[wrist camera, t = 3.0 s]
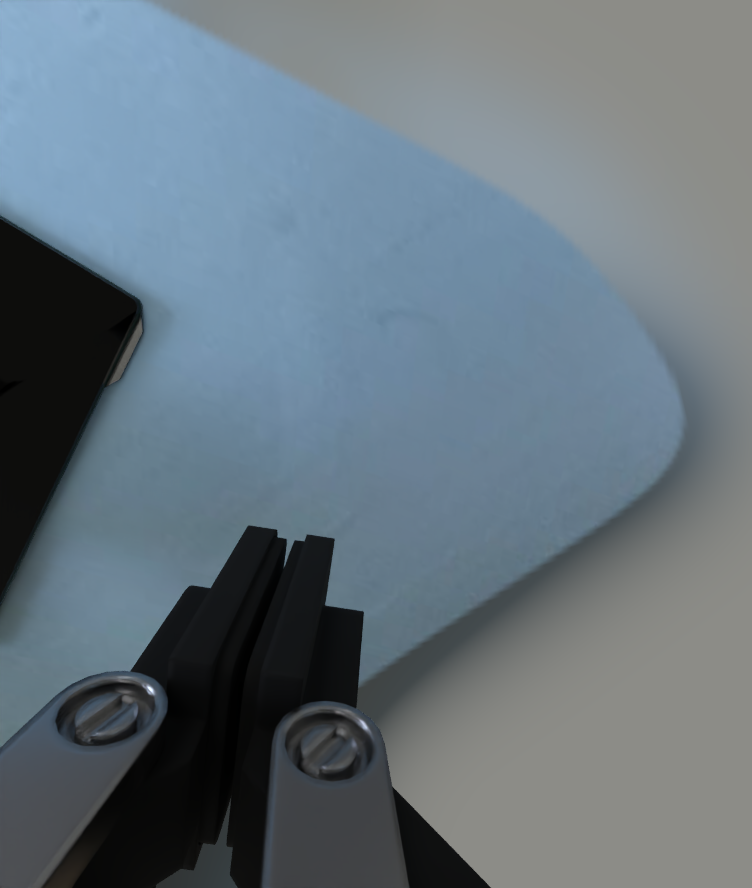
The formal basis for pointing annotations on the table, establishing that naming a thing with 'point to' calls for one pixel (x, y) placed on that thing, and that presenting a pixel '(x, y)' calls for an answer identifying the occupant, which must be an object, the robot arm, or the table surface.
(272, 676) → the robot arm
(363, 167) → the table surface
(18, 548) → the build plate
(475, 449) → the table surface
